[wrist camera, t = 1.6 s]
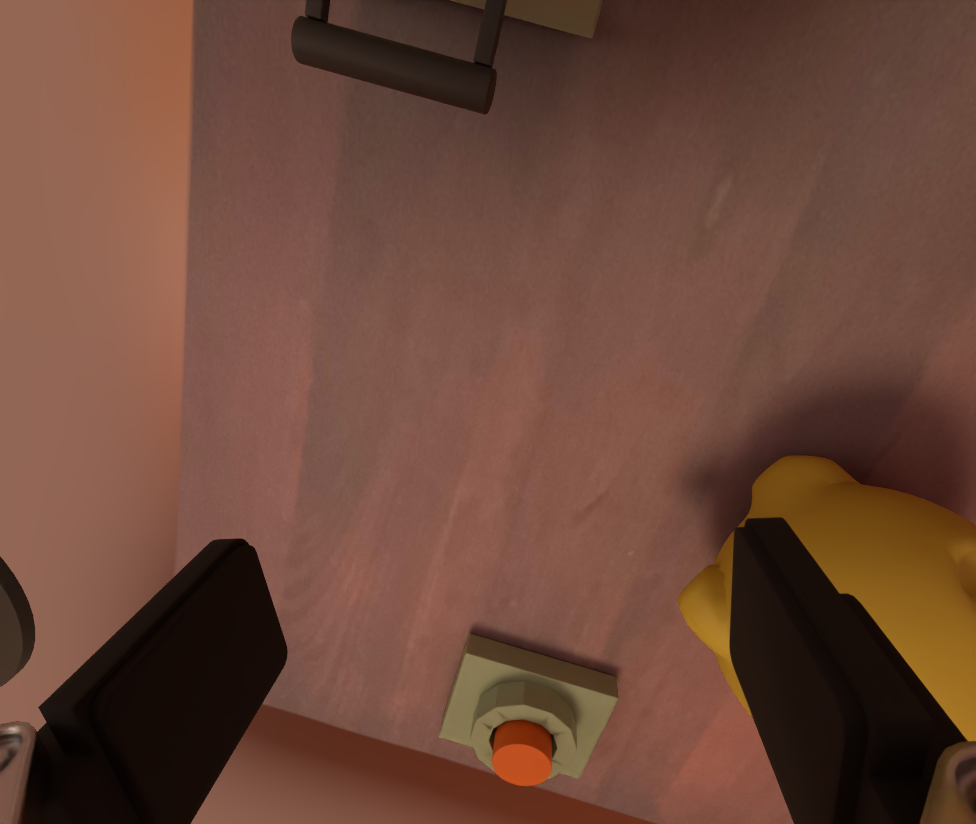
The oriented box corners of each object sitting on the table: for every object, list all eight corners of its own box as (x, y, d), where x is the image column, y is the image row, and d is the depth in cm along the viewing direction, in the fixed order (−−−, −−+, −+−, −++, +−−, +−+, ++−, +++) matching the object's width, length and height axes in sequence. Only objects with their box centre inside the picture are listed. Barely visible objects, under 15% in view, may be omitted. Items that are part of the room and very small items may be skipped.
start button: (488, 749, 34) (485, 776, 32) (503, 711, 33) (500, 737, 31) (542, 765, 34) (541, 793, 32) (559, 727, 33) (559, 754, 31)
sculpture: (1069, 503, 25) (1312, 859, 15) (848, 602, 34) (914, 869, 24) (796, 363, 24) (872, 650, 14) (641, 503, 33) (625, 740, 23)
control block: (443, 715, 38) (432, 762, 35) (469, 632, 35) (460, 676, 32) (577, 755, 38) (580, 807, 34) (616, 676, 35) (622, 724, 31)
